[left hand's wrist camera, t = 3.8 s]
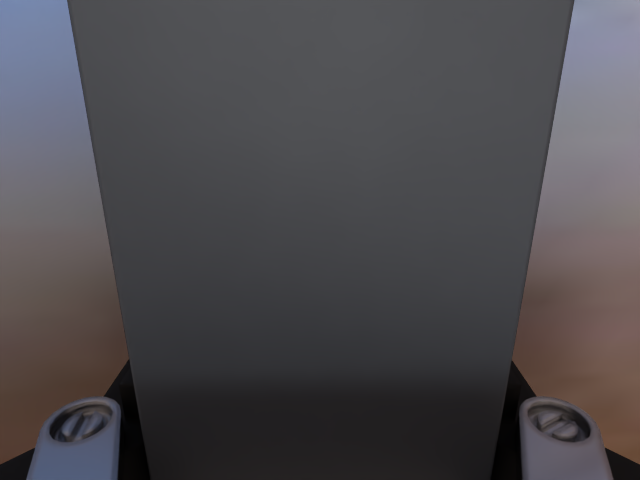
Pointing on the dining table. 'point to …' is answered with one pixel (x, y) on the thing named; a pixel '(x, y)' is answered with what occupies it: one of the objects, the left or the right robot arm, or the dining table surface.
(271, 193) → the beam
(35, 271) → the dining table surface
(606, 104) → the dining table surface
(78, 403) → the left robot arm
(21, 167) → the dining table surface
